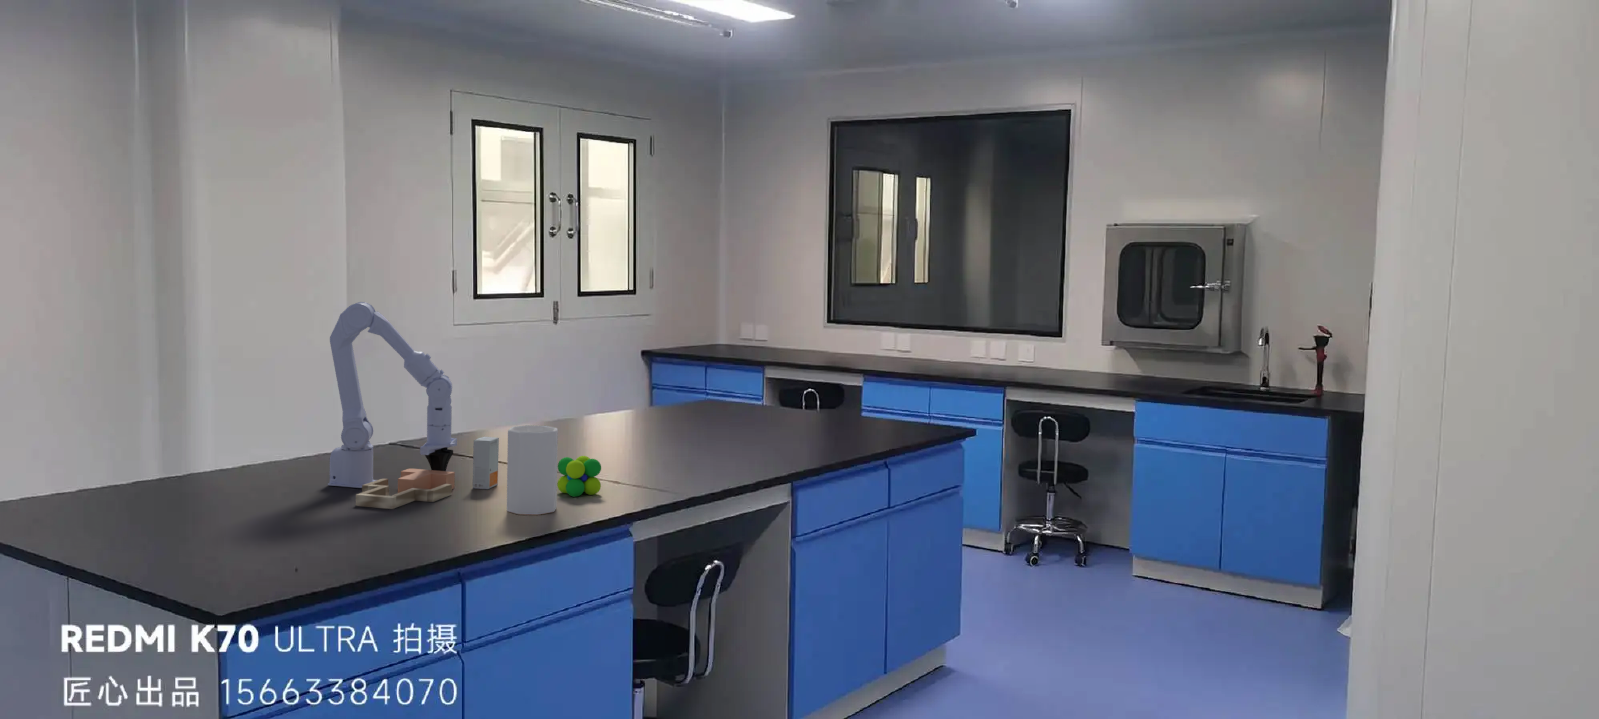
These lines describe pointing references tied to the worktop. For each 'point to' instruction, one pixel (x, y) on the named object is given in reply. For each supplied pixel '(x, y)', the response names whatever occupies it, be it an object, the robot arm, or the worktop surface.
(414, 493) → the nest
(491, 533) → the worktop surface
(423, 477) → the tee
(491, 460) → the skincare box
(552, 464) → the cup
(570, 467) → the molecule model
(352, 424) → the robot arm
